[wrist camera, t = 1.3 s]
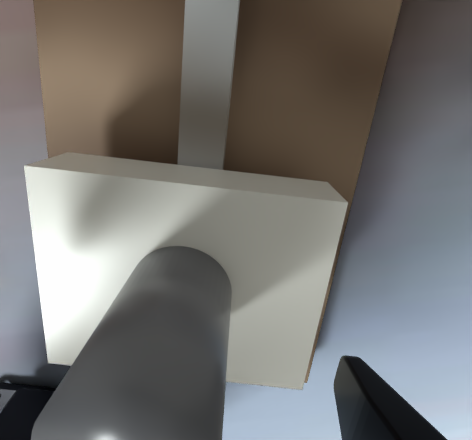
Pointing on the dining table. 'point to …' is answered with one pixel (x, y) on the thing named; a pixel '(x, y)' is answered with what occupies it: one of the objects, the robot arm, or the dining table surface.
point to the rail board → (218, 84)
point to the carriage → (173, 290)
